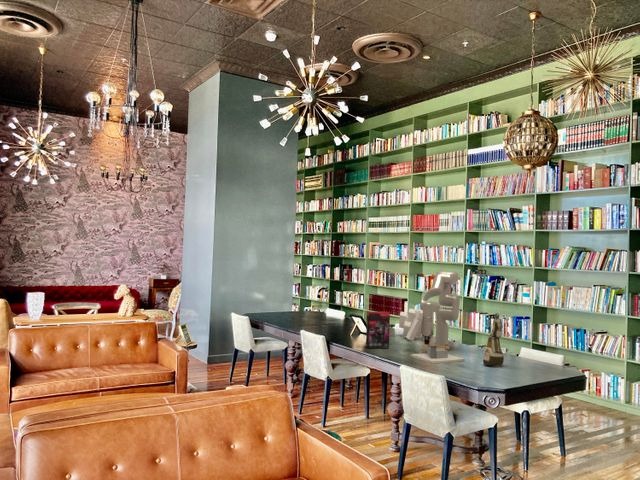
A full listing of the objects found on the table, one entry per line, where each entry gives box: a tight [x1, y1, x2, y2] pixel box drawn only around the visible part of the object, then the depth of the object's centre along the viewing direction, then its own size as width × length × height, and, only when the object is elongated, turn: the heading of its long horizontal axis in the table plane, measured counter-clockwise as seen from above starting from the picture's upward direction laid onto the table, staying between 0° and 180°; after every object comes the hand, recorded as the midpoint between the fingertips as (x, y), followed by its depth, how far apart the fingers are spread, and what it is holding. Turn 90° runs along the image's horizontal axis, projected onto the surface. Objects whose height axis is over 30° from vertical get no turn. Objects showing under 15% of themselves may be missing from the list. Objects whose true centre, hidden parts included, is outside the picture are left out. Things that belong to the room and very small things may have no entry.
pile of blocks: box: [398, 307, 433, 342], centre depth 429 cm, size 35×30×35 cm
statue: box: [482, 312, 505, 367], centre depth 336 cm, size 16×11×35 cm, turn 118°
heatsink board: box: [410, 344, 466, 365], centre depth 350 cm, size 28×24×10 cm
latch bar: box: [422, 343, 450, 349], centre depth 356 cm, size 18×3×3 cm, turn 75°
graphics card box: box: [365, 310, 391, 349], centre depth 381 cm, size 17×7×27 cm, turn 101°
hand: (426, 345), depth 360 cm, fingers closed
